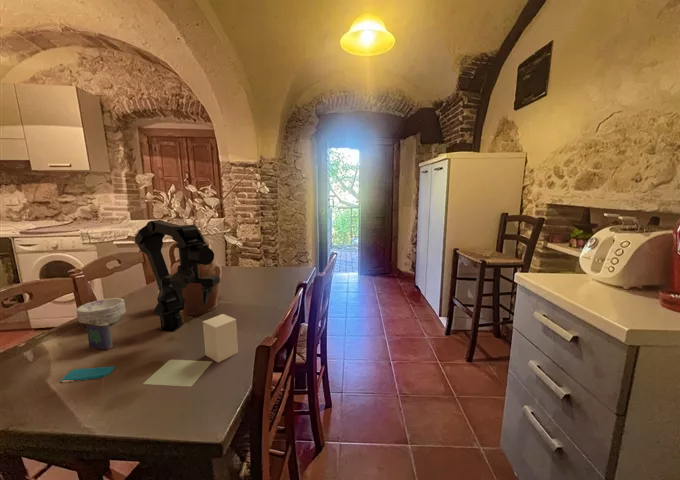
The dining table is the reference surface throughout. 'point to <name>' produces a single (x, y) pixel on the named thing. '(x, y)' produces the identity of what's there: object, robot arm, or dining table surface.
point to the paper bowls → (102, 310)
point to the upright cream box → (220, 337)
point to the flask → (99, 334)
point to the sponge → (88, 373)
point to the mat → (178, 373)
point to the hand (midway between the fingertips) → (193, 303)
